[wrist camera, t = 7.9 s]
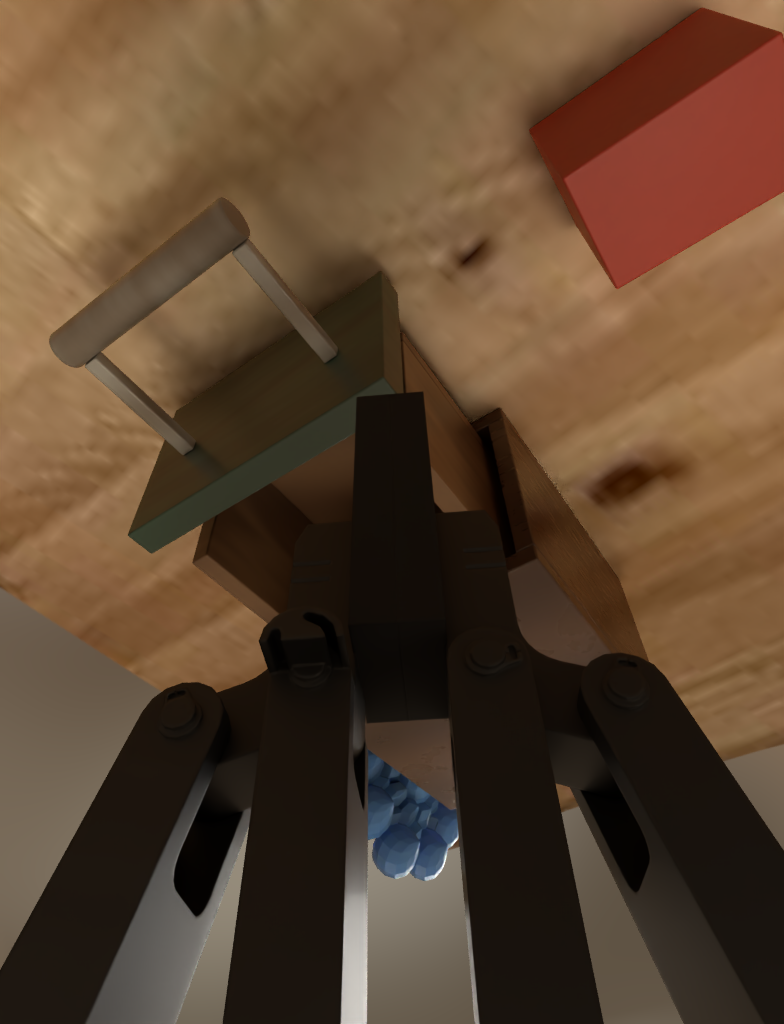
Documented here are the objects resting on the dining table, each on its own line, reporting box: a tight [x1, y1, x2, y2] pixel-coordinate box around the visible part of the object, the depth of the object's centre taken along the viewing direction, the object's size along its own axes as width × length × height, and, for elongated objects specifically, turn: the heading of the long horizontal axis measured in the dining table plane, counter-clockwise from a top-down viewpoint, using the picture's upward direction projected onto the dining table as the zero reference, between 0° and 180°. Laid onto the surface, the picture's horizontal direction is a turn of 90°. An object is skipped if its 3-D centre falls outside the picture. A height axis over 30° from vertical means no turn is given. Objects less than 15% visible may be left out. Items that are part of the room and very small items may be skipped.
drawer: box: [49, 197, 516, 623], centre depth 29 cm, size 20×11×8 cm, turn 34°
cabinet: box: [365, 408, 649, 810], centre depth 35 cm, size 15×13×10 cm
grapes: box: [367, 749, 459, 881], centre depth 44 cm, size 12×7×12 cm, turn 36°
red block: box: [529, 8, 784, 289], centre depth 23 cm, size 6×4×6 cm, turn 125°
